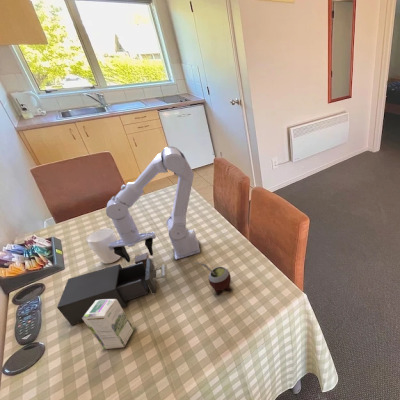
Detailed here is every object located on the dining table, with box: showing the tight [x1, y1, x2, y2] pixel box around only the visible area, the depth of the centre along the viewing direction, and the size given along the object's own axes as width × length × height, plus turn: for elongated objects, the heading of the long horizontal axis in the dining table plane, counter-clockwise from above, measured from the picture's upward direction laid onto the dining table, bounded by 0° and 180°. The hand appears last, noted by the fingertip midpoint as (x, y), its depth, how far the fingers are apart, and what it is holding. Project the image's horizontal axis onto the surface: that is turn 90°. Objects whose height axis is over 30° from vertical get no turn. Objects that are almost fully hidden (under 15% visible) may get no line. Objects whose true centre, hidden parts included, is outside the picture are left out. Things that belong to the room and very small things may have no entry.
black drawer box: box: [56, 263, 127, 326], centre depth 88 cm, size 15×13×9 cm
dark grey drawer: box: [117, 257, 168, 302], centre depth 93 cm, size 18×11×7 cm, turn 117°
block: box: [134, 252, 150, 268], centre depth 104 cm, size 4×4×4 cm
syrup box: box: [82, 299, 135, 350], centre depth 75 cm, size 6×6×14 cm
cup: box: [85, 227, 122, 264], centre depth 106 cm, size 9×9×12 cm
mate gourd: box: [194, 262, 232, 296], centre depth 90 cm, size 8×8×15 cm
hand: (140, 257), depth 103 cm, fingers open, 7 cm apart
